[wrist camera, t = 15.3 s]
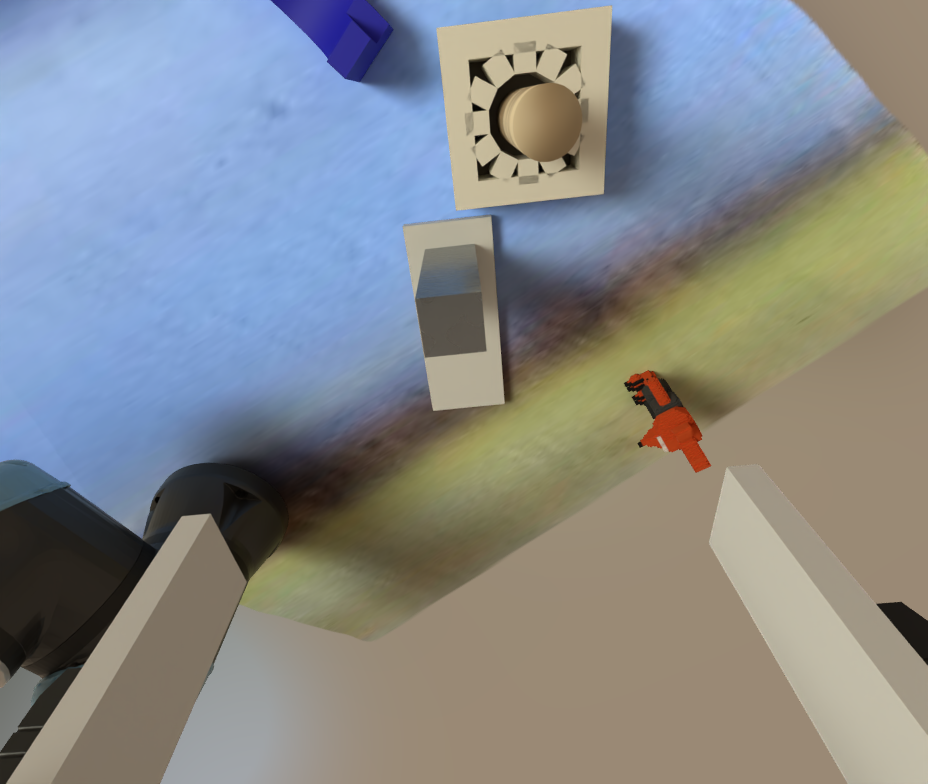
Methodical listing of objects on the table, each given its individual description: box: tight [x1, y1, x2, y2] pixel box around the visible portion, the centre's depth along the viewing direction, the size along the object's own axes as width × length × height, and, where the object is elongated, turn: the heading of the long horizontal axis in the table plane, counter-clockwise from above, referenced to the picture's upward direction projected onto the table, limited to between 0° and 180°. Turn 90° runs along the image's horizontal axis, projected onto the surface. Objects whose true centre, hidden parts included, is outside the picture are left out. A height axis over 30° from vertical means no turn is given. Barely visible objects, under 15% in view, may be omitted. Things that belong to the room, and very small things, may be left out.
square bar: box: [415, 244, 487, 358], centre depth 40 cm, size 5×5×13 cm
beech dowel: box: [496, 83, 582, 162], centre depth 33 cm, size 4×4×13 cm
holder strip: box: [403, 215, 505, 411], centre depth 48 cm, size 8×20×1 cm, turn 6°
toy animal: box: [624, 370, 711, 472], centre depth 48 cm, size 8×6×12 cm
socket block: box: [437, 6, 612, 211], centre depth 38 cm, size 12×12×4 cm
